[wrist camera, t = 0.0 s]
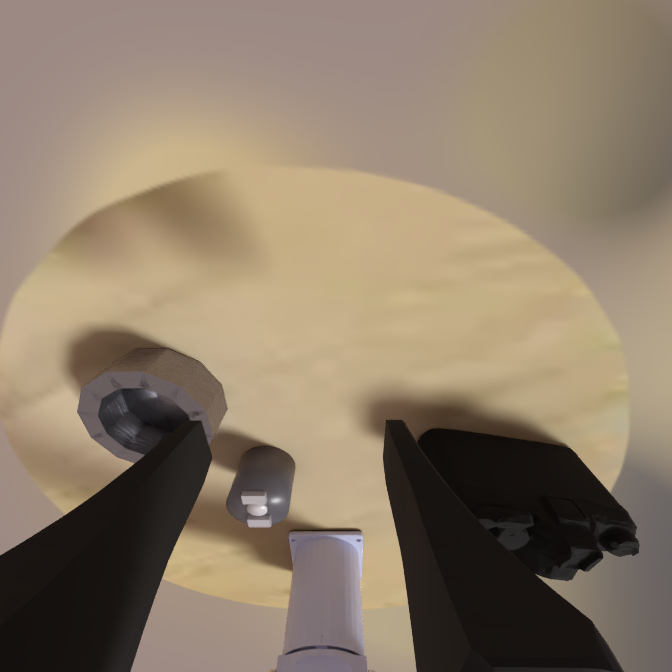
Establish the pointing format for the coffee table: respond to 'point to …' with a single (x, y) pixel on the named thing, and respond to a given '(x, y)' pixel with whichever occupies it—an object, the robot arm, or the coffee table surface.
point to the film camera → (533, 500)
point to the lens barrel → (149, 401)
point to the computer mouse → (262, 487)
